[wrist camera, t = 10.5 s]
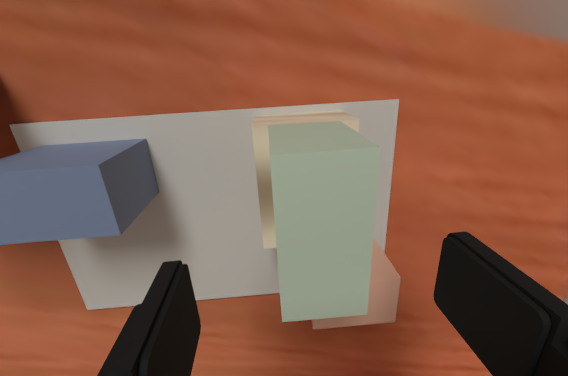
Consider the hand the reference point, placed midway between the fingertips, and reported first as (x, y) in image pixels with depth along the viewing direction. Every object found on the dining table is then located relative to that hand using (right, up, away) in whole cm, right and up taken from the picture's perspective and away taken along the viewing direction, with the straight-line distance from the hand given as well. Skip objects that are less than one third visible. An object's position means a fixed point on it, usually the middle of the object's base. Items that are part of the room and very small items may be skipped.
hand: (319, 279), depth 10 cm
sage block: (0, +3, +7) cm, 8 cm away
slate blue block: (-14, +5, +10) cm, 18 cm away
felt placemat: (-6, +1, +12) cm, 13 cm away
